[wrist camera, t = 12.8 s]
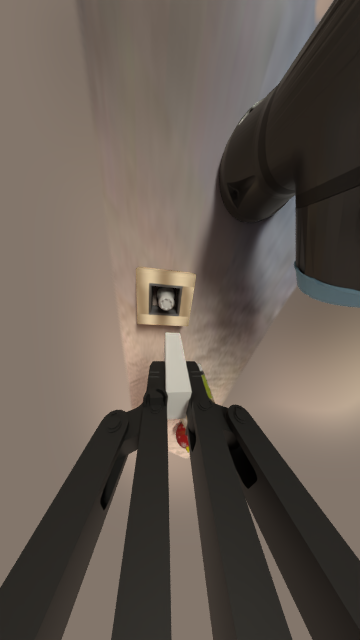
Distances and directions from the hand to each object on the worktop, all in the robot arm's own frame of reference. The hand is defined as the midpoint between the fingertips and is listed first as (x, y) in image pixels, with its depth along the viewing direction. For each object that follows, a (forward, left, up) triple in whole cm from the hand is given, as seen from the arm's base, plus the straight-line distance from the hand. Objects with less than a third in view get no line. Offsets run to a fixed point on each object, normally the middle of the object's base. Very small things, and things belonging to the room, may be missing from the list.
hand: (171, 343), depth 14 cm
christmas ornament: (-13, +59, -21) cm, 64 cm away
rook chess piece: (0, 0, -21) cm, 21 cm away
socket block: (0, 0, -21) cm, 21 cm away
